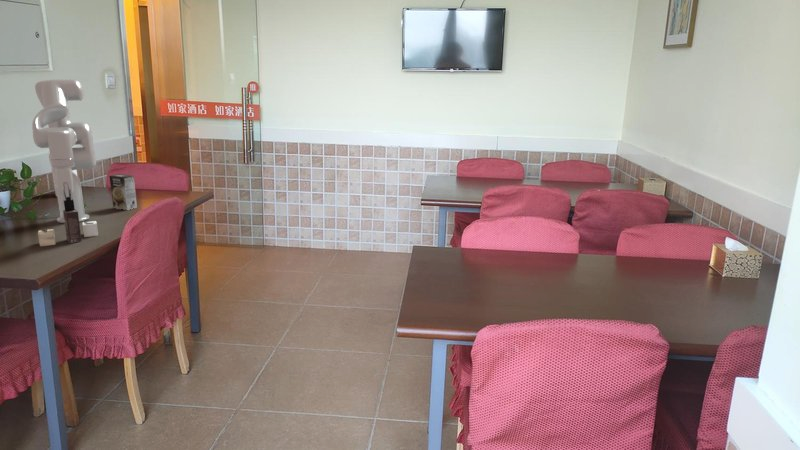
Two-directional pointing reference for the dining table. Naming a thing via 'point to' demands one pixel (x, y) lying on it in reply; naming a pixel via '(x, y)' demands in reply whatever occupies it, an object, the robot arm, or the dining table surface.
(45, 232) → the birch digit block
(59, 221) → the robot arm
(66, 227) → the box
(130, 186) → the coffee box
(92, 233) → the offwhite digit block
